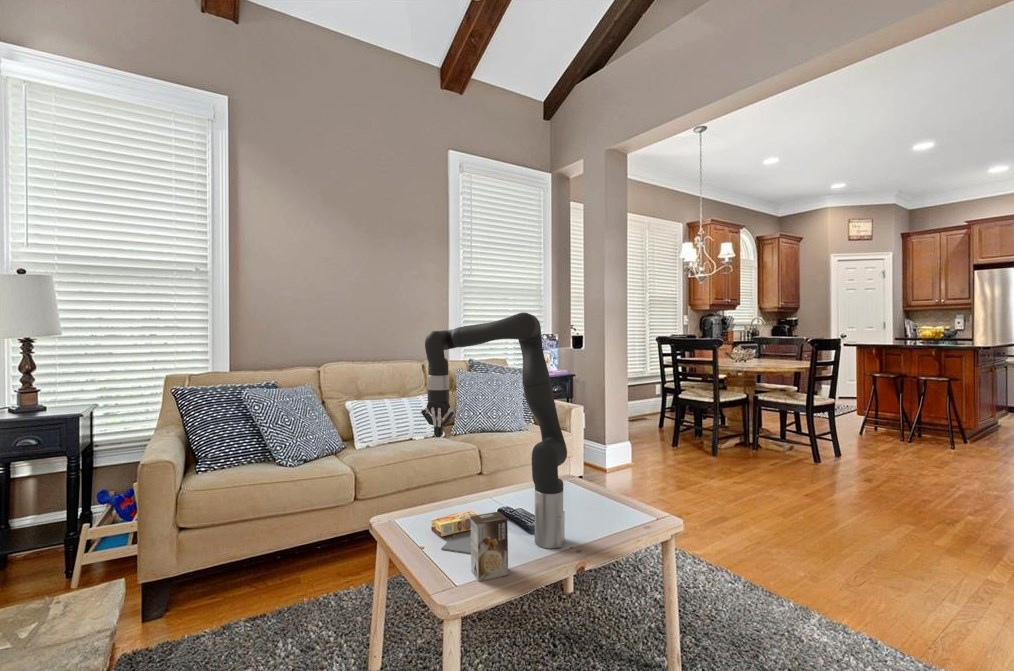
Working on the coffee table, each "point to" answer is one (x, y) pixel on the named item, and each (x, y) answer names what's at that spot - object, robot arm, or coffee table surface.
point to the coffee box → (489, 546)
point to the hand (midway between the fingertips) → (438, 437)
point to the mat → (459, 543)
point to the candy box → (452, 523)
